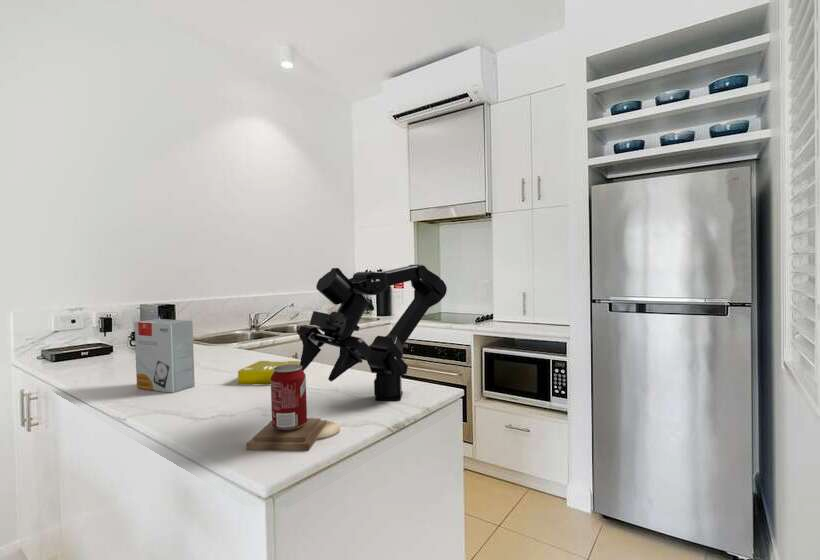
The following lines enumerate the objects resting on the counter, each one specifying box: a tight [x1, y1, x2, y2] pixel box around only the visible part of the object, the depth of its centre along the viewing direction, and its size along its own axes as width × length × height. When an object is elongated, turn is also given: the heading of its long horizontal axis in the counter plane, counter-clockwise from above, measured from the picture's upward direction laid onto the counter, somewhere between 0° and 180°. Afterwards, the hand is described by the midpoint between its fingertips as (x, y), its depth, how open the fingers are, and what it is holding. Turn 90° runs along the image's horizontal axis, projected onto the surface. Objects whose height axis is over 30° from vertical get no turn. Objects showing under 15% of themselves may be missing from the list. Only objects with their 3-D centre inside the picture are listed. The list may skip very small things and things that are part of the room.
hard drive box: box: [133, 318, 196, 394], centre depth 123 cm, size 16×8×20 cm, turn 68°
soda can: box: [270, 364, 308, 431], centre depth 83 cm, size 7×7×12 cm
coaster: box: [316, 420, 341, 441], centre depth 86 cm, size 9×9×1 cm
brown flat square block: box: [245, 417, 328, 451], centre depth 83 cm, size 12×12×2 cm
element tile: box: [237, 360, 300, 385], centre depth 131 cm, size 15×15×5 cm
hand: (314, 375), depth 91 cm, fingers open, 9 cm apart
